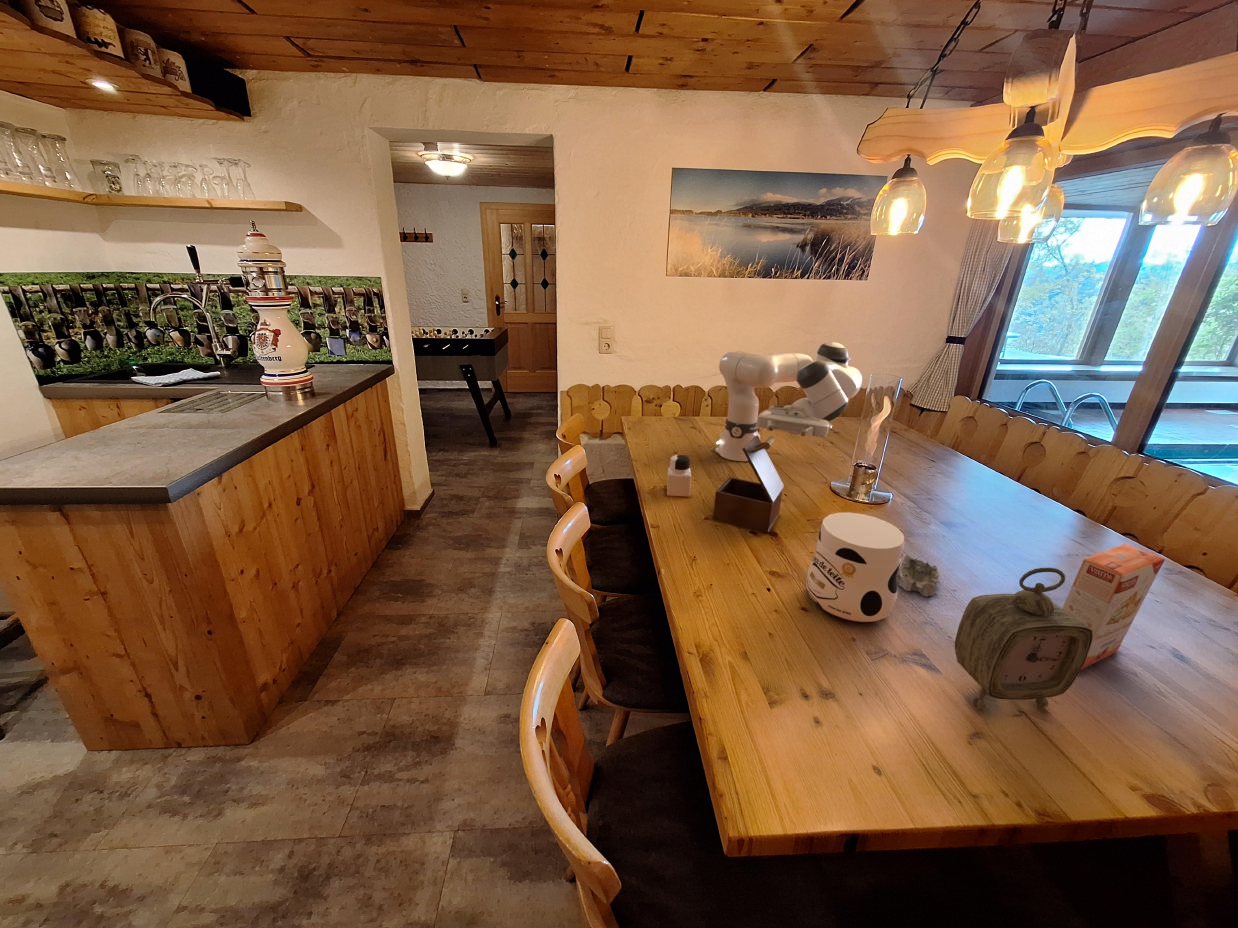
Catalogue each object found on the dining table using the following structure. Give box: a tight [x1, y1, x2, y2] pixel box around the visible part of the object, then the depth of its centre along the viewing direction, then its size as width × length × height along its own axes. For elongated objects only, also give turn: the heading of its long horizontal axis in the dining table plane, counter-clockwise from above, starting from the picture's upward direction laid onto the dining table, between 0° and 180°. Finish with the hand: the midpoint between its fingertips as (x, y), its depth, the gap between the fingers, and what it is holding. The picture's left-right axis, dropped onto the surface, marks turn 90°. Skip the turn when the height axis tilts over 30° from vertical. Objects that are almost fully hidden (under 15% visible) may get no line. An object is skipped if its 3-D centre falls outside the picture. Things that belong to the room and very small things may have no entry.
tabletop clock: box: [954, 567, 1092, 710], centre depth 78 cm, size 14×9×25 cm, turn 93°
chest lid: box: [742, 435, 785, 503], centre depth 132 cm, size 16×13×6 cm
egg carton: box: [898, 554, 940, 597], centre depth 112 cm, size 11×8×4 cm
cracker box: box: [1061, 543, 1166, 671], centre depth 88 cm, size 14×6×21 cm, turn 114°
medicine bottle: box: [666, 454, 692, 498], centre depth 155 cm, size 7×7×12 cm
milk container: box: [805, 512, 905, 624], centre depth 101 cm, size 17×17×18 cm
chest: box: [712, 476, 784, 534], centre depth 139 cm, size 16×13×9 cm
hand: (786, 430), depth 139 cm, fingers open, 8 cm apart
